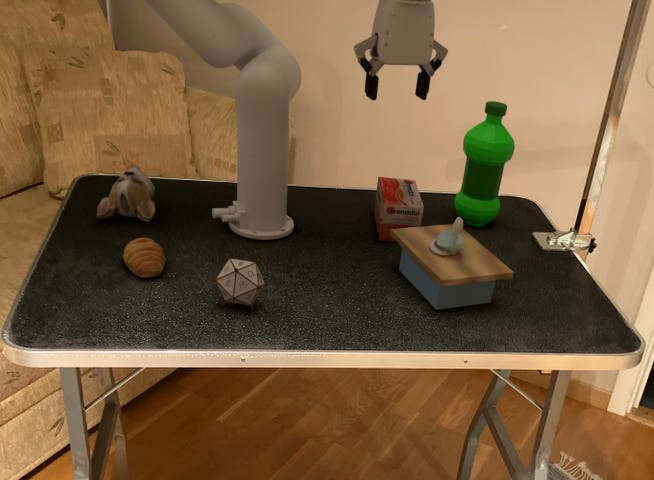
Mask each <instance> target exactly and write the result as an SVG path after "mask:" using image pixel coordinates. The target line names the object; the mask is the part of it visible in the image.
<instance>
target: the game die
mask: <svg viewBox="0 0 654 480" xmlns="http://www.w3.org/2000/svg"><path fill="white" fill-rule="evenodd" d="M226 258H227V261H226V263H225V264H224V265H223V267H222V268H221V270H220V271H219V273H218V274H217V276H216V278H213V277H212V278H210V279H209V281H211V282H215V283H216V286H217V288H218V290H219V293H220V295H221V297H222V298H223V301H222V302H221V306H225V304H226V303H229V304H230V303H231V304H236V305H242V306H248V307H250V310H251V311H255V307H254V303H255V302H256V300H257V299H258V297H259V295H260V293H261V292H262V291H263V289H264V287H265V286H266V287H268V286H270V285H271V283H269V282H265V279H264V277H263V274H262V272H261V270H260V267H259V265H258V264H259V262H260V261H261V259H260V258H256V259H255V261H252V260H251V261H250V260H244V259H240V258H239V259H238V258H232V257H231V254H229V253H228V252H227V253H226Z"/></svg>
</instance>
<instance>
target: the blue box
mask: <svg viewBox="0 0 654 480" xmlns="http://www.w3.org/2000/svg"><path fill="white" fill-rule="evenodd" d="M398 271H400V273H402V275H403V276H404V277H405V278H406V279H407V280H408V281H409V282H410V283H411V284H412V286H414V288H415V289H416V290H417V291H418V292H419V293H420V294H421V295H422V296H423V298H424V299H425V300H427V301H428V303H429V304H430V305H431V306H432V307H433V308H434V309H435V310H445V309H452V308H453V309H454V308H461V307H467V306H475V305H483V304H489V303H490V304H491V303H492V298H493V294H494V289H495V285H496V280H493V281H485V282H476V283H468V284H460V285H451V286H443V287H441V286H440V285H439V284H438V283H437V282H436V281H435V280H434V279H433V278H432V277H431V276H430V275H429V274H428V273H427V272H426V271H425V270H424V269H423V268H422V267H421V266H420V265H419V264H418V263H417V262H416V261H415V260H414V259H413V258H412V257H411V256H410V255H409V254H408V253H407V252H406V251H405V250H404V249H403V248H402V247H401V253H400V260H399V267H398Z"/></svg>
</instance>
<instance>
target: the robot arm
mask: <svg viewBox="0 0 654 480" xmlns="http://www.w3.org/2000/svg"><path fill="white" fill-rule="evenodd" d="M143 2H144V3H145V4H147V5H148V6H149V8H150V9H152V10H153V11H154V13H156V14H157V15H158V16H159V17H160V18H161V19H162V21H164V22H165V24H166V25H168V27H169V28H170V29H171V30H172V31H173V32H174V33H175V34H176V35H177V36H178V37H179V38H180V39H181V40H182V41H183V42H184V43H185V44H186V45H187V46H189V48H191V50H192V51H193V52H194V53H195V54H196V55H197V56H198V57H199V58H200V59H201V60H202V61H203V62H204V63H206V64H207V65H208V66H209V67H213V68H216V69H227V68H229V67H231V66H234V67H235V68H236V69H237V70H238V71H239V73H238V75H237V77H236V79H235V83H234V91H233V92H234V93H233V94H234V97H233V98H234V106H235V116H236V128H237V129H236V141H237V142H236V147H237V149H236V151H237V154H236V155H237V157H236V159H237V161H236V164H237V166H236V168H237V169H236V170H237V171H236V200H233V201H232V205H228V206H227V207H223V208H222V207H221V208H220V207H216V208H215V207H214V208H212V209H211V216H212V219H221V221H222V223H228V227H229V229H230V230H231V231H232V232H233V233H235V234H236V235H238V236H241V237H244V238H248V239H252V240H259V241H268V240H276V239H281V238H282V239H283V238H285V237H286V236H287V237H288V236H289V235H290V234H292V232H293V231H294V228H295V225H294V220H293V219H292V217H291V216H288V214H287V208H288V188H289V187H288V184H289V163H290V140H291V138H290V136H291V135H290V134H291V129H290V126H291V125H290V105H291V104H290V103H291V101H292V99H293V98H294V97H295V96H296V94H297V93H298V91H299V90H300V88H301V85H302V78H303V76H302V70H301V66H300V64H299V62H298V60H297V59H296V57H295V56H294V55H293V54H292V52H291V51H290V50H289V49H288V48H287V47H286V46H285V45H284V44H283V43H282V42H281V41H280V40H279V39H278V38H277V37H276V35H275V34H273V33H272V31H271V30H270V29H269V28H268V27H267V26H266V25H265V24H264V23H263V22H262V21H261V20H260V19H259V17H257V16H256V15H255V14H254V13H253V12H252V11H251V10H249V9H248V8H246V7H245V6H243V5H242V4H240V3H236V2H230V1H229V2H227V1H226V2H221V3H219V2H217V1H216V0H143ZM435 14H436V13H435V2H433V1H432V0H378V3H377V6H376V11H375V13H374V19H373V23H372V29H371V33H370V36H369V37H367V38H366V39H364V40H362V41H360V42H358V43H356V44H355V45H354V46H353V51H354V54H355V57H356V58H357V62H358V64H359V65H360V67H361V68H362V69H363V71H364V72H365V80H364V94H365V97H367V98H368V99H370V100H371V101H376V100H377V99H378V91H379V81H380V78H379V76H378V75H377V74H378V73H379V72H380V71H381V69H382V68H383V67H384V65H386V66H418V67H419V69H420V71H419V72H418V73H417V78H416V85H415V92H414V96H416V97H417V98H419V99H420V100H422V101H427V97H428V94H429V92H430V85H431V78H432V77H434V76H435V72H437V70H438V69H439V68H440V67H441V66H442V64H443V61H444V60H445V59H446V57H447V55H448V53H449V50H448V49H447V47H445V46H443V45H442V44H441V43H439V42H438V41H437V40H435V28H436V27H435V25H436V23H435V17H436V16H435ZM368 50H369V56H370V59H367V55H366V53H367V52H366V51H368ZM433 50H434V51H435V55H434V57H433V58H432V55H433Z"/></svg>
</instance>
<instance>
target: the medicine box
mask: <svg viewBox="0 0 654 480" xmlns="http://www.w3.org/2000/svg"><path fill="white" fill-rule="evenodd" d="M376 184H377V185H376V193H375V202H374V209H373V210H374V211H373V212H374V217H375V218H374V219H375V223H376V229H377V234H378V235H377V236H378V239H379V241H382V242H383V241H384V242H390V243H391V242H393V243H395V242H396V241H395V240H394V239H393V238H392V237H391V236H390V231H391V229H399V228H411V227H422V222H423V218H424V217H423V216H424V210H425V206H424V203H423V200H422V197H421V195H420V194H421V193H420V191H419V188H418V184H417V182H416V180H415V179H406V178H397V177H385V176H377V183H376Z"/></svg>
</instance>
